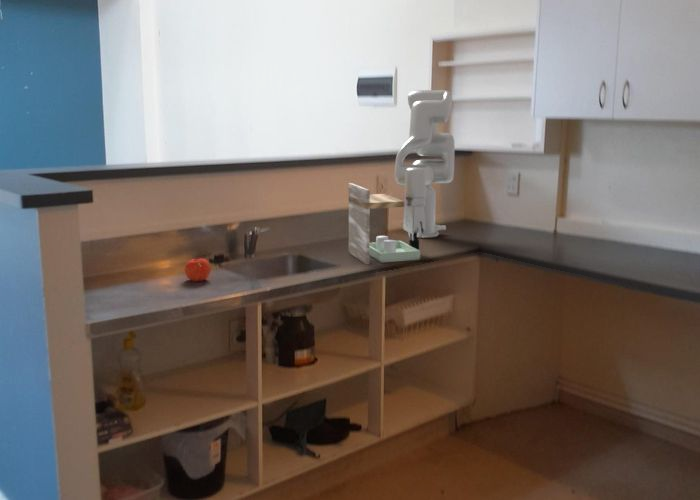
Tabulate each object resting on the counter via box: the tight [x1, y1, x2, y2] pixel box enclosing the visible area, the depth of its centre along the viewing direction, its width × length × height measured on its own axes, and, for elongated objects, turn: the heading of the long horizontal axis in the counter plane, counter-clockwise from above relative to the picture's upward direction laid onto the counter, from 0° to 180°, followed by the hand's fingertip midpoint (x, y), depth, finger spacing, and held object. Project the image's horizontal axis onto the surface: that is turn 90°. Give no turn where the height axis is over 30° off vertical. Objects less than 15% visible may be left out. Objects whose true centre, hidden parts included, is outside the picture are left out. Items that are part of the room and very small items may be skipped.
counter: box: [348, 182, 405, 265], centre depth 256 cm, size 14×20×26 cm
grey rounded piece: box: [375, 235, 389, 253], centre depth 263 cm, size 4×4×6 cm
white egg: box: [384, 239, 397, 253], centre depth 256 cm, size 4×4×6 cm
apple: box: [184, 255, 212, 282], centre depth 226 cm, size 8×8×8 cm
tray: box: [369, 240, 421, 264], centre depth 260 cm, size 15×19×3 cm
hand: (414, 250), depth 263 cm, fingers closed
